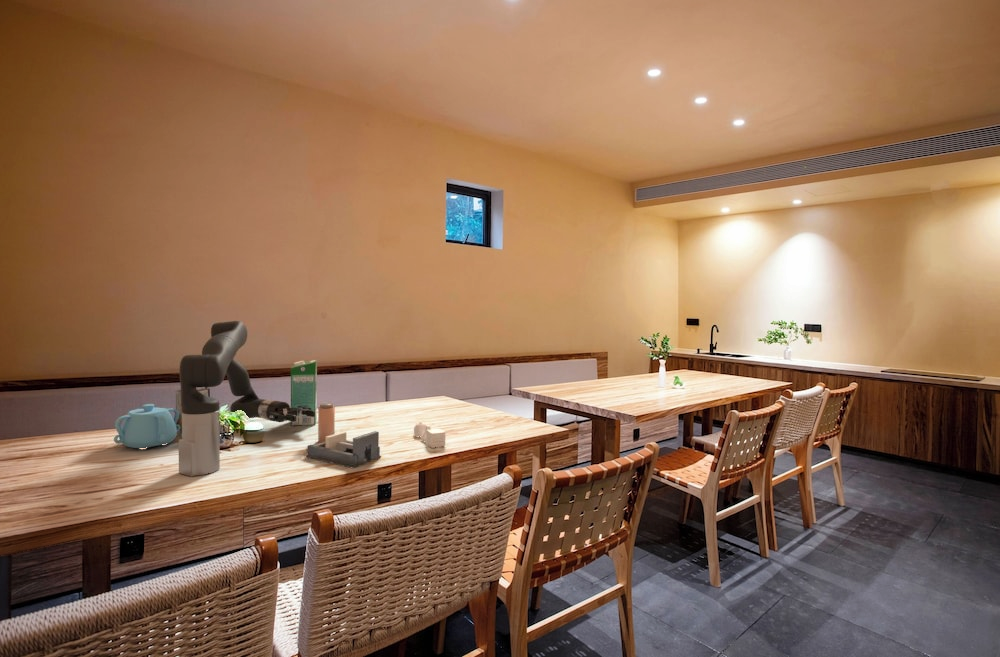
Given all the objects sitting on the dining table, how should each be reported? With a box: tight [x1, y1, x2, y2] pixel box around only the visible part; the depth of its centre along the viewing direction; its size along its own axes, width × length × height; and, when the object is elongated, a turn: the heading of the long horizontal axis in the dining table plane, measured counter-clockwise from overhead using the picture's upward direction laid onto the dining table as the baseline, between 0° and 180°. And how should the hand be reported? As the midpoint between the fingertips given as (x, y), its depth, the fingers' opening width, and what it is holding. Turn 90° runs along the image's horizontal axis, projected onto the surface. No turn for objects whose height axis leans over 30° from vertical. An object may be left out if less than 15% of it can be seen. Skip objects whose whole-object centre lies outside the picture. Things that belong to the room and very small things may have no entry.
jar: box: [317, 402, 336, 444], centre depth 175 cm, size 5×5×13 cm
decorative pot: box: [113, 403, 180, 449], centre depth 166 cm, size 16×16×14 cm
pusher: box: [325, 431, 366, 452], centre depth 157 cm, size 7×12×6 cm, turn 63°
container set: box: [413, 421, 446, 449], centre depth 180 cm, size 20×5×6 cm, turn 30°
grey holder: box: [305, 430, 382, 469], centre depth 158 cm, size 12×20×8 cm, turn 63°
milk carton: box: [290, 359, 318, 427], centre depth 200 cm, size 9×9×25 cm
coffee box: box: [174, 387, 211, 436], centre depth 181 cm, size 9×6×16 cm
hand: (305, 416), depth 180 cm, fingers open, 8 cm apart
